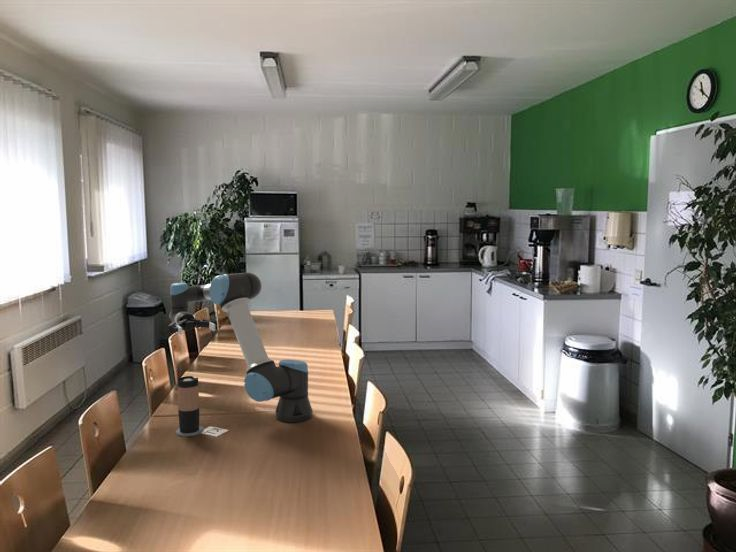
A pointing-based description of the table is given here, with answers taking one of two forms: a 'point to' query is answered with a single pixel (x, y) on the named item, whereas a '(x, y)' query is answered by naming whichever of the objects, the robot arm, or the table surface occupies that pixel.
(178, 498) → the table surface
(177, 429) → the slate coaster
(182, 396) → the travel mug
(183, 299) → the robot arm
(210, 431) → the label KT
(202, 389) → the table surface
